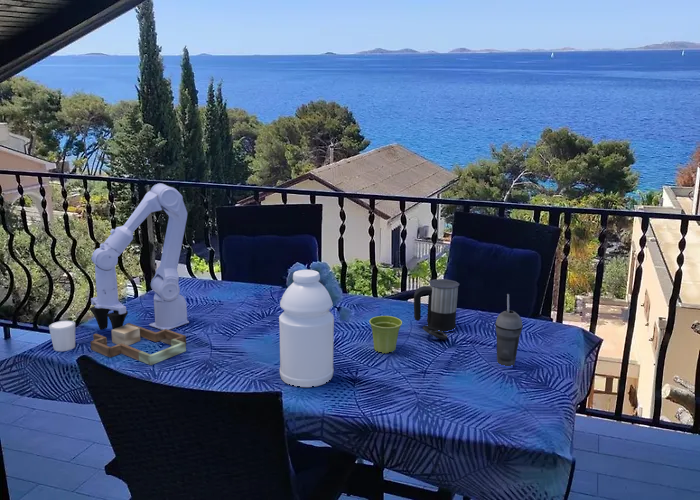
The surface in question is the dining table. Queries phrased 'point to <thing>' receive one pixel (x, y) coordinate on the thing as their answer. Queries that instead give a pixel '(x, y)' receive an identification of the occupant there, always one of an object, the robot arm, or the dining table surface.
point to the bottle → (306, 332)
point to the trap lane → (163, 336)
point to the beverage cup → (508, 336)
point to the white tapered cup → (63, 335)
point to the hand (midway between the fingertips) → (110, 331)
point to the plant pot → (385, 332)
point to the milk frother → (438, 306)
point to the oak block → (126, 335)
